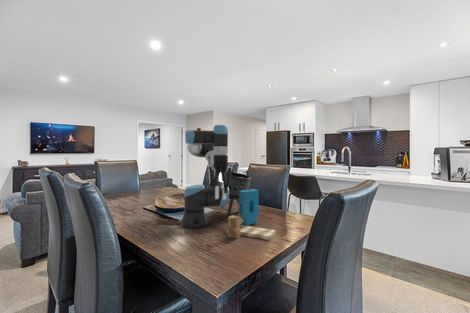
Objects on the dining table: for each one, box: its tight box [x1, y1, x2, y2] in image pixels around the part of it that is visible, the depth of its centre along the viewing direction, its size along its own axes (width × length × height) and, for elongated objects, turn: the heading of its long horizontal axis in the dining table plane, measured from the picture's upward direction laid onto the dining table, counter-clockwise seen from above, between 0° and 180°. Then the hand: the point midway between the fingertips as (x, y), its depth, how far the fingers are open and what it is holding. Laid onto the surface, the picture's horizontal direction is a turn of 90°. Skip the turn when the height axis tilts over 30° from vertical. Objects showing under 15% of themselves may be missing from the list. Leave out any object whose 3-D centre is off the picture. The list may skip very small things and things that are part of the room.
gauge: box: [227, 214, 243, 239], centre depth 119 cm, size 5×12×10 cm, turn 155°
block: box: [238, 188, 260, 226], centre depth 137 cm, size 12×5×20 cm, turn 125°
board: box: [226, 224, 276, 241], centre depth 121 cm, size 24×10×2 cm, turn 65°
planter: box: [220, 170, 252, 216], centre depth 160 cm, size 20×20×26 cm
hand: (220, 198), depth 119 cm, fingers open, 4 cm apart
